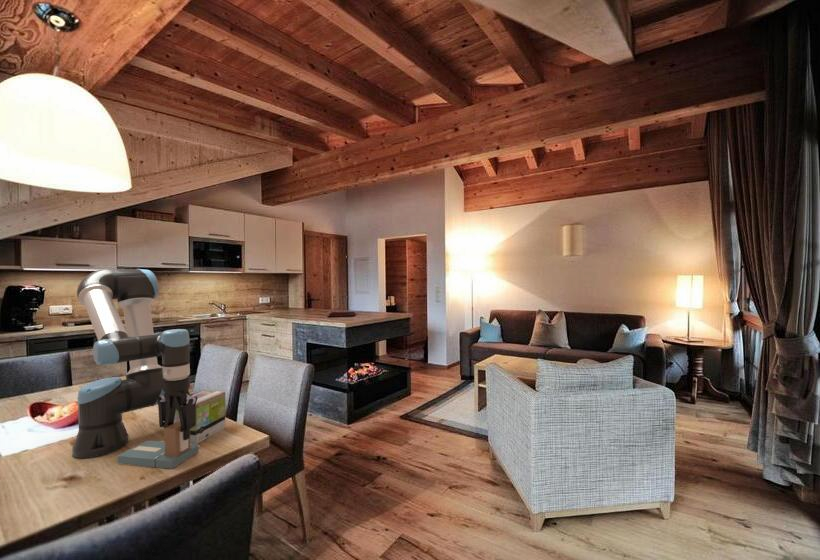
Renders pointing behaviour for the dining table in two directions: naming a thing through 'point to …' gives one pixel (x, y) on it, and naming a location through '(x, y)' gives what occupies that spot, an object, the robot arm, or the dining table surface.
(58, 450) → the dining table surface
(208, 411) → the tea box
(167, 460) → the stub
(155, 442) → the ticket
